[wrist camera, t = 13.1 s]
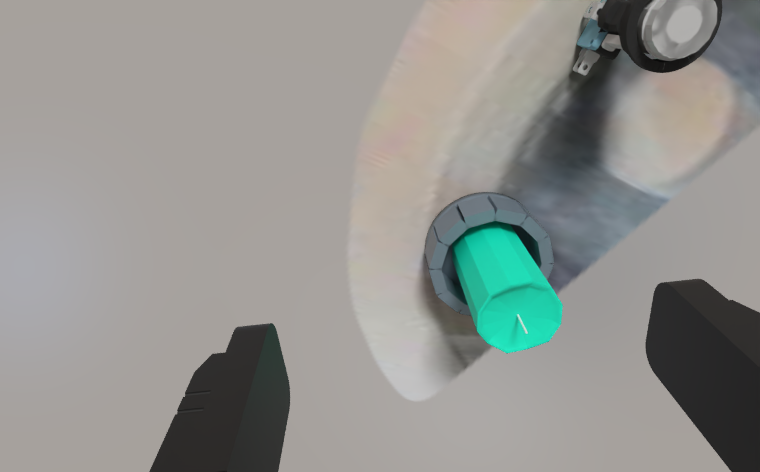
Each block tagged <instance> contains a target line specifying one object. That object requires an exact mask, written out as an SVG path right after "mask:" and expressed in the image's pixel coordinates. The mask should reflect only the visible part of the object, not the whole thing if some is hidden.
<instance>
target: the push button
mask: <svg viewBox="0 0 760 472" xmlns="http://www.w3.org/2000/svg"><path fill="white" fill-rule="evenodd" d="M592 7H593V8H592ZM591 8H592V10H591V12H590V13H589V10H590V9H591ZM721 16H722V0H601V2H600V3H598V2H592V3H591V4H590V6H589V7H588V9H587V11H586V13H585V14H584V18H591V19H590V21H589V23H588V24H587V26H586V28H585V29H584V31H583V33H582V35H581V36H580V38H579V40H578V42H577V45H579V46H580V47H582V50H581V51H580V53H579V56H580V57H579V59H578V60H577V62H576V64H575V65H574V67H573V71H575V72H577V73H579V74H583V75H587V73H588V72H589V70H590V68H591V67H592V65H593V63H594V62H595V63H596V62H597V60H598V59H599V57H600V56H603V57H605V58H608V59H612V60H613V59H615V58H616V57H617V55H618V54H619V52H620V50H621V49H623V50H624V51H625V52H626V53H627V54H628V55H629V56H630V58H631V59H632V60H633V62H634V63H635V64H637V65H638V66H639V67H641V68H643V69H645V70H648V71H652V72H657V73H666V72H672V71H676V70H679V69H681V68H683V67H685V66H687V65H689V64H690V63H692V62H693V61H695V60H696V59H697V58H698V57H699V56H700V55H701V54H702V53H703V52H704V51H705V50H706V49H707V48H708V46H709V45H710V44H711V42H712V40H713V39H714V37H715V35H716V33H717V30H718V28H719V25H720V21H721ZM644 53H645V54H651V55H652V56H654V57H655V58H657V59H650V58H648V57H647V56H646V55H645V54H644ZM579 63H581V65H580V67H579V68H578V64H579ZM586 65H587V66H588V68H587V69H586V70H584V68H585V67H586Z"/></svg>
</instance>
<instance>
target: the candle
mask: <svg viewBox="0 0 760 472" xmlns="http://www.w3.org/2000/svg"><path fill="white" fill-rule="evenodd" d="M452 260H453V263H454V266H455V269H456V272H457V274H458V277H459V280H460V283H461V286H462V289H463V292H464V295H465V298H466V301H467V303H468V306H469V309H470V312H471V315H472V318H473V321H474V324H475V327H476V330H477V332H478V333H479V334H480V335H481V337H482V338H483V339H484V340H485V341H486V343H488V344H490V345H492V346H494V347H496V348H498V349H500V350H502V351H503V352H505V353H510V352H516V351H521V350H525V349H529V348H532V347H535V346H538V345H541V344H543V343H546V342H549V340H550V339H551V338H552V336H553V335H554V333H555V331H556V330H557V329H558V328H559V326H560V325H561V318H562V306H563V305H562V303H561V301H560V300H559V298H558V297H557V295H556V294H555V292H554V290H553V289H552V287H551V286H550V284H549V283H548V281H547V280H546V278H545V277H544V275H543V274H542V272H541V271H540V269H539V267H538V266H537V264H536V263H535V261H534V260H533V258H532V257H531V255H530V254H529V252H528V251H527V249H526V248H525V246H524V245H523V243H522V242H521V240H520V239H519V237H518V236H517V234H516V233H515V231H514V230H513V228H512V227H511V225H510V224H508V223H504V222H499V221H492V222H488V223H485V224H481V225H478V226H474V227H471V228H468V229H467V230H466V231H465V232H464V233H463V234H462V235H460V236H459V237H458V238H457V239H456V240H455V241H454V242H453V243H452Z"/></svg>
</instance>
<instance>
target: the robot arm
mask: <svg viewBox="0 0 760 472" xmlns="http://www.w3.org/2000/svg"><path fill="white" fill-rule="evenodd" d="M646 354H647V358H648V361H649V364H650V366H651V368H652V370H653V372H654V373H655V374H656V376H657V377H658V378H659V380H660V381H661V382H662V383H663V385H664V386H665V387H666V389H667V390H668V391H669V392H670V394H671V395H672V396H673V398H674V399H675V400H676V401H677V402H678V404H679V405H680V407H681V408H682V409H683V410H684V412H685V413H686V414H687V415H688V417H689V418H690V419H691V421H692V422H693V423H694V424H695V426H696V427H697V428H698V429H699V431H700V432H701V433H702V434H703V436H704V437H705V438H706V440H707V441H708V442H709V443H710V445H711V446H712V447H713V449H714V450H715V451H716V452H717V454H718V455H719V456H720V458H721V459H722V460H723V461H724V463H725V464H726V465H727V466H728V468H729V469H730V470H731V471H732V472H760V313H759V312H757V311H755V310H752V309H750V308H748V307H746V306H744V305H742V304H740V303H738V302H735V301H733V300H728V299H727V298H725V297H724V296H723V295H721V294H720V293H719V292H718V291H717V290H715V289H714V288H713V287H712V286H711V285H709V284H708V283H707V282H705V281H704V280H702V279H692V280H682V281H674V282H664V283H660V284H658V286H657V287H656V289H655V291H654V296H653V302H652V308H651V314H650V320H649V325H648V331H647V337H646ZM289 407H290V387H289V380H288V376H287V372H286V367H285V363H284V359H283V355H282V351H281V347H280V343H279V339H278V335H277V331H276V328H275V326H274V325H273V324H272V323H270V324H262V325H252V326H243V327H237V328H236V329H235V330H234V332H233V335H232V338H231V340H230V343H229V345H228V348H227V350H226V353H217V354H212V355H211V356H210V357H209V358H208V359H207V360H206V361H205V362H204V363H203V364H202V365H201V366H200V367H199V368H198V369H197V370H196V371H195V373H194V375H193V377H192V379H191V381H190V383H189V385H188V388H187V390H186V392H185V397H183V399H182V401H181V403H180V405H179V408H178V410H177V411H178V413H177V415H175V417H174V419H173V421H172V423H171V425H170V428H169V430H168V432H167V434H166V436H165V438H164V441H163V443H162V445H161V447H160V449H159V452H158V454H157V456H156V458H155V461H154V463H153V465H152V467H151V469H150V472H278V469H279V464H280V458H281V453H282V447H283V442H284V436H285V430H286V425H287V419H288V414H289Z"/></svg>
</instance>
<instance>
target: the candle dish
mask: <svg viewBox="0 0 760 472" xmlns="http://www.w3.org/2000/svg"><path fill="white" fill-rule="evenodd" d="M492 221H499V222H504V223H508V224H510V225H511V227H512V228H513V230H514V231H515V233H516V234H517V236H518V237H519V239H520V240H521V242H522V243H523V245H524V246H525V248H526V249H527V251H528V252H529V254H530V255H531V257H532V258H533V260H534V261H535V263H536V264H537V266H538V267H539V269H540V271H541V272H542V274H543V275H544V277H545V278H546V280H547V279H548V277H549V275H550V272H551V270H552V268H553V266H554V265H553V264H552V263H553V262H554V259H553V253H552V247H551V241H550V237H549V236H548V233H547V232H546V231H545V230H544V228H543V227H542V226H541V225H540V223H539V222H538V221H537V220H536V219H535V218H534V217H533V216H532V215H531V214H530V213H529V211H528V210H527V209H526V208H525V207H524V206H523V205H522V204H521V203H519V202H518V201H516V200H515V199H513V198H511V197H509V196H506V195H503V194H499V193H493V192H482V193H474V194H470V195H467V196H464V197H461V198H459V199H457V200H455V201H454V202H452V203H451V204H449V205H448V206H446V207H445V208H444V209H443V210H442V211H441V212H440V213H439V214H438V215H437V217H436V218H435V219H434V221H433V222H432V224H431V226H430V228H429V231H428V233H427V237H426V243H425V256H426V260H427V264H428V269H429V272H430V276H431V279H432V282H433V286H434V289H435V292H436V295H437V296H438V297H439V298H440V299H441V300H442V301H444V302H445V303H446V304H447V305H448V306H450V307H451V308H452V309H453V310H455V311H456V312H458V311H459V313H460V314H464V315H470V316H472V315H471V312H470V309H469V306H468V303H467V301H466V298H465V295H464V292H463V289H462V286H461V283H460V280H459V277H458V274H457V272H456V269H455V266H454V263H453V260H452V243H453V242H454V241H455V240H456V239H457V238H458V237H459V236H460V235H462V234H463V233H464V232H465V231H466V230H467V229H468V228H471V227H474V226H478V225H481V224H485V223H488V222H492Z"/></svg>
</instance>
